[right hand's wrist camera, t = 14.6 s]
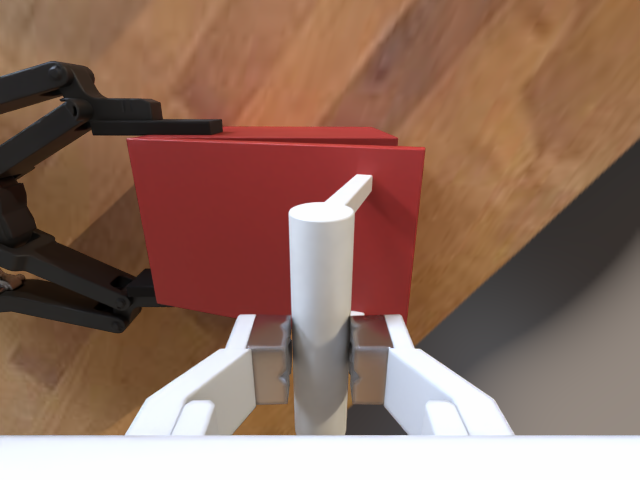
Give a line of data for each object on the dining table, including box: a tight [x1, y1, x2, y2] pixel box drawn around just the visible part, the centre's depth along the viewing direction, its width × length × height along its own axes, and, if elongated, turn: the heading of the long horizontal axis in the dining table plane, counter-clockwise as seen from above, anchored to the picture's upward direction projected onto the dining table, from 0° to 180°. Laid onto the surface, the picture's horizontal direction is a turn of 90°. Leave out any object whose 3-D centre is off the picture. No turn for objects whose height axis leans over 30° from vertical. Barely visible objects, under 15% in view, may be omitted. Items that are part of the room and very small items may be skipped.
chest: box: [140, 127, 398, 146], centre depth 25 cm, size 14×10×9 cm
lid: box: [126, 137, 425, 435], centre depth 15 cm, size 14×10×8 cm, turn 89°
